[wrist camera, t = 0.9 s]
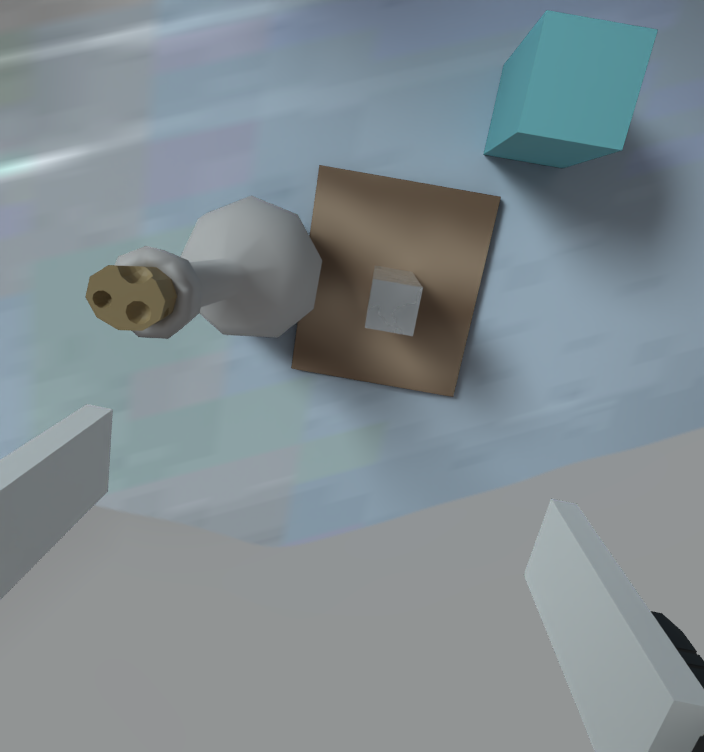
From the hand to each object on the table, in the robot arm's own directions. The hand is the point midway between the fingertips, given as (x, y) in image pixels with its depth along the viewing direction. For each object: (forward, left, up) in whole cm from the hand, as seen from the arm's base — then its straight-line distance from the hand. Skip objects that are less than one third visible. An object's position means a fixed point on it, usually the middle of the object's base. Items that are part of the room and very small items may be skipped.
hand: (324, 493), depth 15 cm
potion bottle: (-4, -7, -23) cm, 24 cm away
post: (-4, +2, -23) cm, 23 cm away
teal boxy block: (-16, +9, -23) cm, 29 cm away
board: (-4, +2, -23) cm, 23 cm away
